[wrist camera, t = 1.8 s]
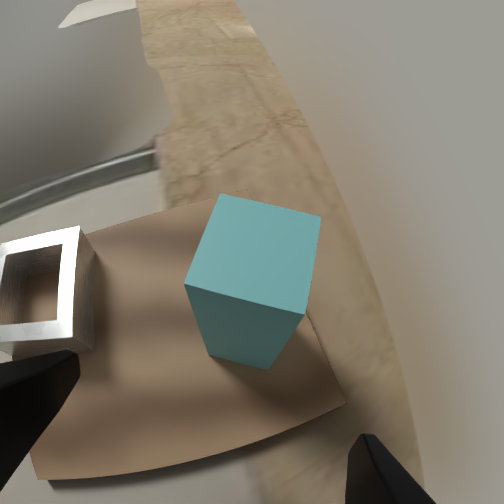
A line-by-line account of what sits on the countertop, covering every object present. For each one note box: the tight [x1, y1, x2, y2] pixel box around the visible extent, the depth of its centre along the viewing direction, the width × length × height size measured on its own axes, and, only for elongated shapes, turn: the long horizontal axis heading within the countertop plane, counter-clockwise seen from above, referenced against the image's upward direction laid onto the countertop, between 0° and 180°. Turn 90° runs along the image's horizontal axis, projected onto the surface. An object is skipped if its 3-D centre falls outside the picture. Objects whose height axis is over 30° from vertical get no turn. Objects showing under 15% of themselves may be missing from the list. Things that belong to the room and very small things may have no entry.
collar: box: [0, 227, 95, 355], centre depth 18 cm, size 8×8×4 cm
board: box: [12, 190, 346, 480], centre depth 20 cm, size 19×23×1 cm
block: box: [184, 193, 321, 370], centre depth 15 cm, size 4×4×11 cm
